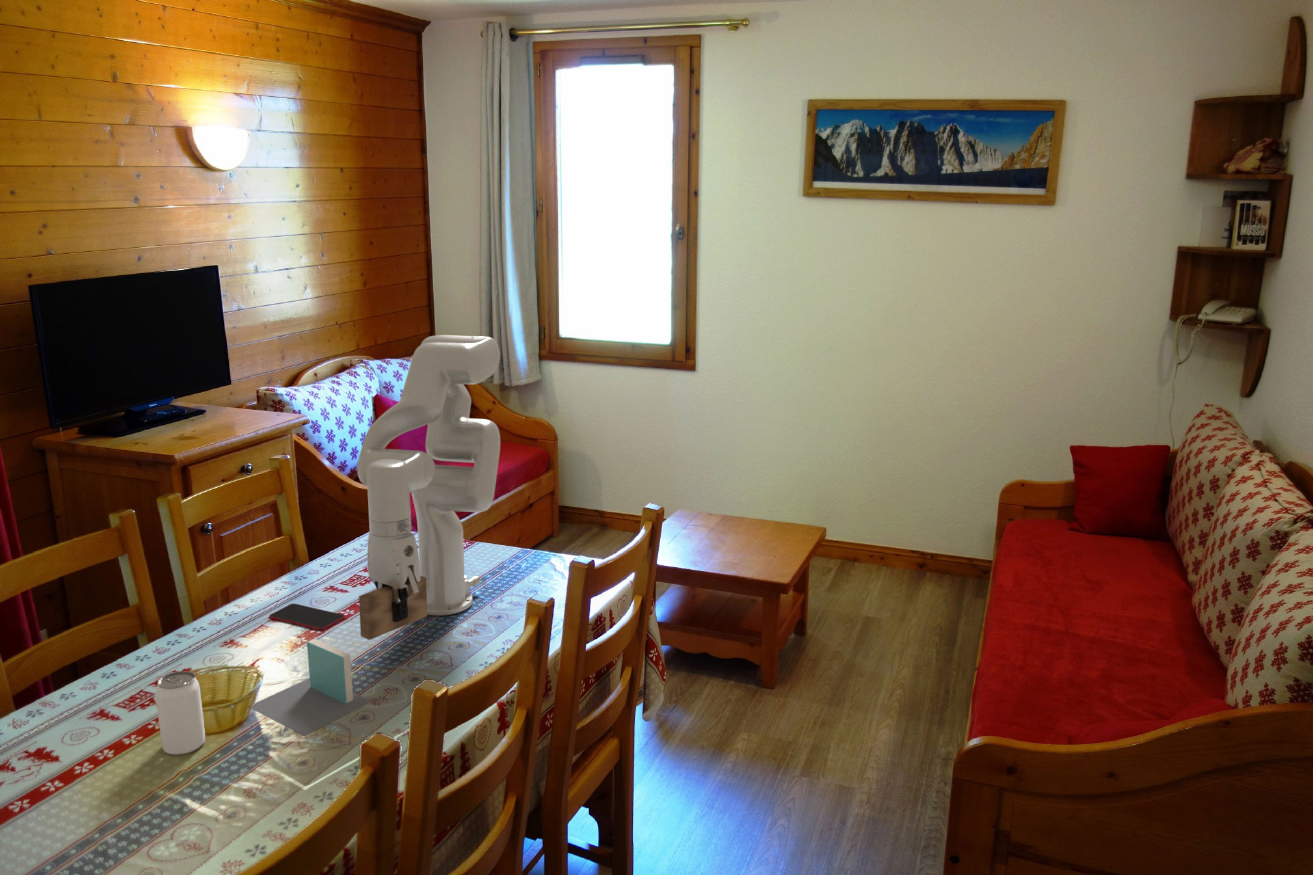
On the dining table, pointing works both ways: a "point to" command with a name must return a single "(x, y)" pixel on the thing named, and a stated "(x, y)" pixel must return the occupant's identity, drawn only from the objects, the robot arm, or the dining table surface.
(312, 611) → the smartphone
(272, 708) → the mat
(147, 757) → the dining table surface
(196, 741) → the can
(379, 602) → the wooden plank piece
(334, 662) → the tile
